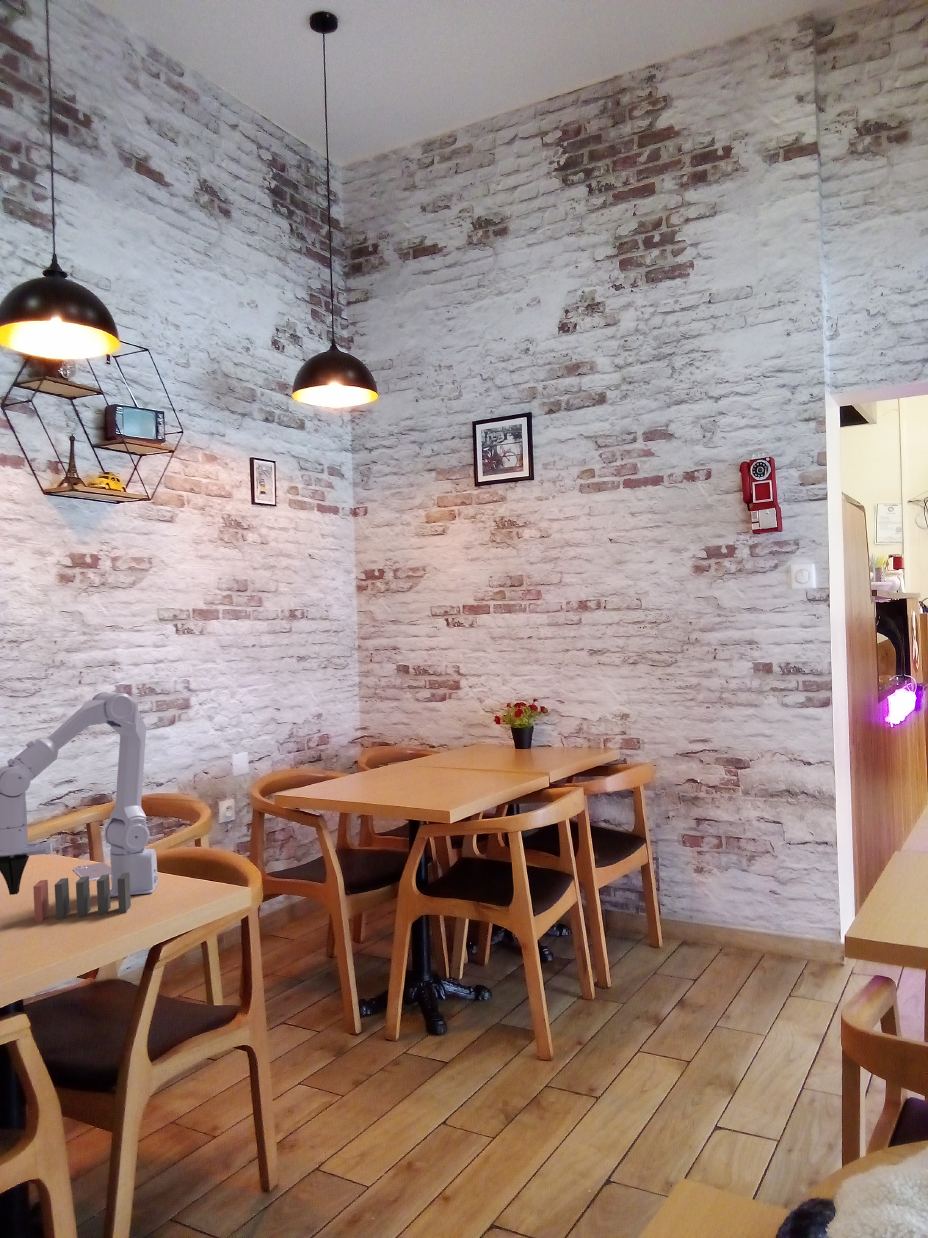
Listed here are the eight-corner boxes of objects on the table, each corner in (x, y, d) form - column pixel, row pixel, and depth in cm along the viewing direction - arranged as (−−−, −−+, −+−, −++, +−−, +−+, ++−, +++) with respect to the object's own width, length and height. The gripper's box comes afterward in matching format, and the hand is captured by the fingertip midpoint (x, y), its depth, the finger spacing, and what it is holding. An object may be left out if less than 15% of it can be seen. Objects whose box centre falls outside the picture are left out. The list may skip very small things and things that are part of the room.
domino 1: (70, 912, 182) (68, 878, 182) (63, 919, 178) (61, 884, 178) (62, 912, 182) (61, 878, 182) (56, 919, 177) (54, 884, 178)
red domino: (49, 914, 181) (47, 879, 182) (42, 921, 177) (40, 886, 177) (41, 914, 181) (40, 880, 181) (34, 921, 177) (33, 886, 177)
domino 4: (130, 906, 184) (129, 872, 184) (126, 913, 180) (124, 878, 180) (123, 907, 184) (122, 873, 184) (118, 913, 179) (117, 879, 179)
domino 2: (90, 910, 183) (89, 876, 183) (84, 917, 178) (83, 882, 178) (83, 910, 183) (81, 876, 183) (77, 917, 178) (75, 882, 178)
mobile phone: (85, 879, 205) (72, 866, 217) (85, 883, 205) (72, 870, 217) (119, 873, 209) (104, 861, 221) (119, 877, 209) (104, 865, 221)
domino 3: (110, 908, 183) (109, 874, 183) (105, 915, 179) (103, 880, 179) (103, 908, 183) (102, 875, 183) (98, 915, 179) (96, 881, 179)
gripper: (54, 818, 184) (56, 883, 184) (-24, 825, 181) (-21, 892, 180) (47, 825, 178) (50, 893, 177) (-33, 833, 174) (-30, 902, 174)
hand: (14, 893), depth 178 cm, fingers closed
